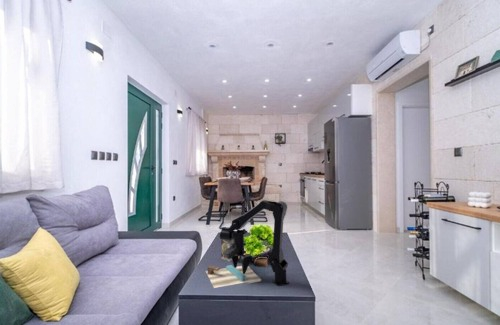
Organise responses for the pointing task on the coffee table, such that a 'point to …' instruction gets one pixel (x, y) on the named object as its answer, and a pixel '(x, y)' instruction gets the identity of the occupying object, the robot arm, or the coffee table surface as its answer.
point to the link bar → (236, 273)
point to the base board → (231, 277)
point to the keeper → (212, 269)
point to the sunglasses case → (261, 262)
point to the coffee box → (225, 245)
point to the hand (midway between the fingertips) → (239, 270)
